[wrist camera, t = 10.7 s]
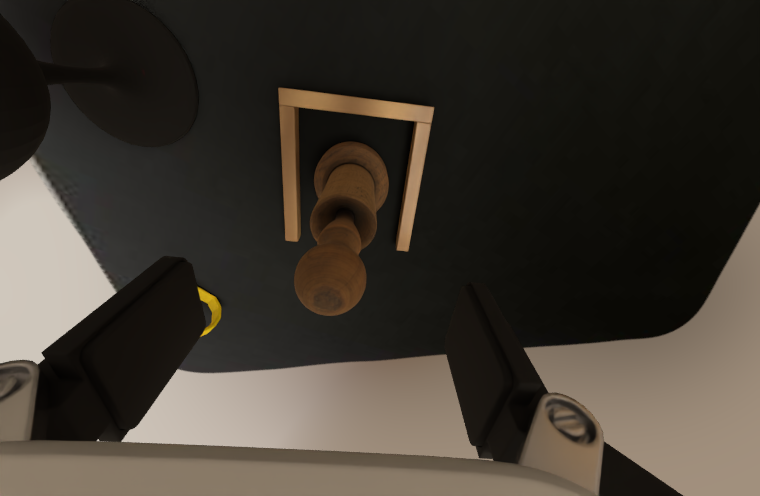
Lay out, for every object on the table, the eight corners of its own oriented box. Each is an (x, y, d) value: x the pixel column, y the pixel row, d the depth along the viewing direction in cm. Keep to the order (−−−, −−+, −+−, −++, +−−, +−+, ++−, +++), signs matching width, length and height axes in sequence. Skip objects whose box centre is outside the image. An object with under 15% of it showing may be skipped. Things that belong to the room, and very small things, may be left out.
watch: (172, 284, 32) (133, 322, 27) (185, 270, 31) (147, 306, 26) (219, 314, 34) (191, 354, 29) (233, 302, 33) (207, 340, 28)
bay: (431, 106, 24) (434, 107, 23) (406, 244, 30) (408, 251, 29) (283, 87, 23) (277, 87, 22) (289, 234, 29) (285, 240, 28)
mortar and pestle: (402, 181, 27) (445, 304, 11) (353, 223, 29) (331, 380, 13) (352, 124, 25) (319, 179, 9) (302, 175, 27) (201, 295, 11)
